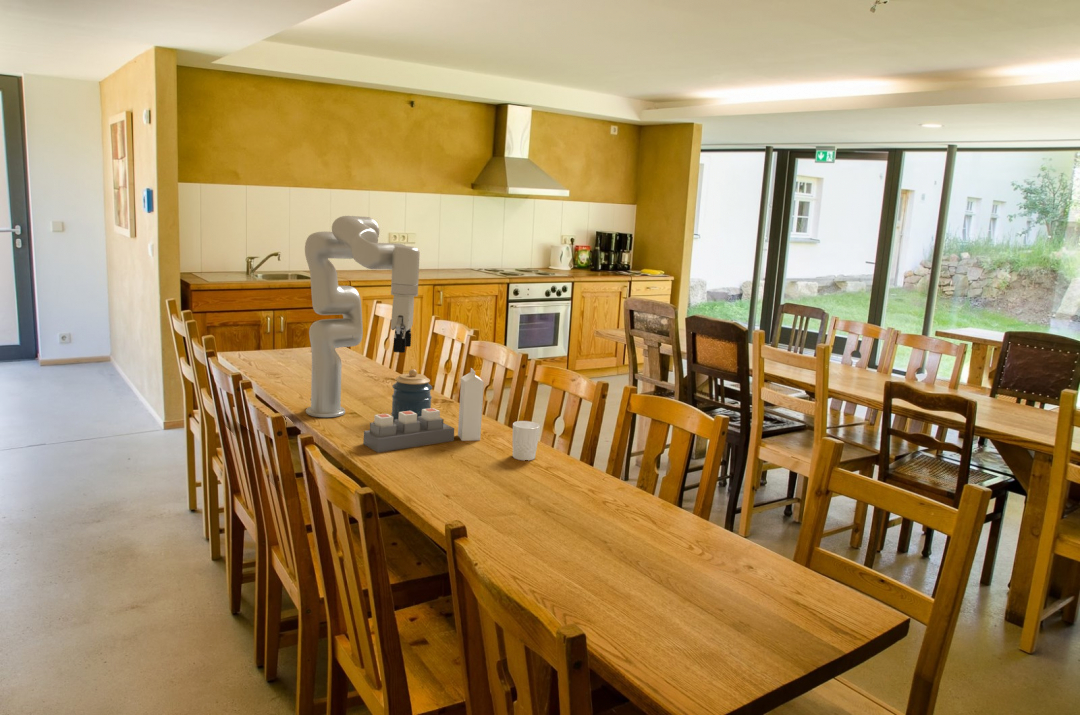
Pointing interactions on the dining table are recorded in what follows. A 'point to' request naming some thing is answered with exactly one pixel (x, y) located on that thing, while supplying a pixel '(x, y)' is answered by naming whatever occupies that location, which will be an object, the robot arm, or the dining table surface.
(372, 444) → the button panel
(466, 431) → the milk
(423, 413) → the button
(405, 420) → the button
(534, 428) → the white cup
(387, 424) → the button
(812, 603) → the dining table surface
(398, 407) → the canister
